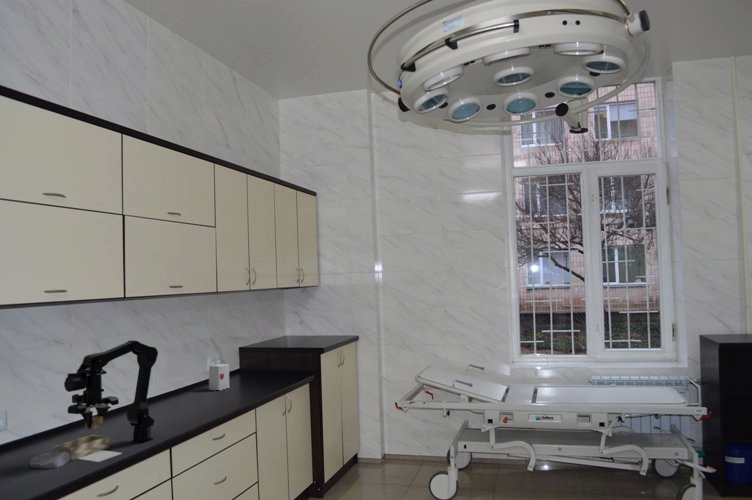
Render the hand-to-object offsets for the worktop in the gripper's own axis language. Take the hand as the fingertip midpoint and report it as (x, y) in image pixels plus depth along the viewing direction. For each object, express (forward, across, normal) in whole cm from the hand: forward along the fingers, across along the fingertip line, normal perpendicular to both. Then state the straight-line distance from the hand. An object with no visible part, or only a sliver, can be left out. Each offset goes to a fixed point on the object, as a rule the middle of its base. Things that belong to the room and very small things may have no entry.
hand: (94, 427), depth 224 cm
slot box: (+11, 0, -8) cm, 14 cm away
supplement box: (+11, -122, -48) cm, 132 cm away
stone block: (+12, +14, -6) cm, 19 cm away
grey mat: (+11, 0, +3) cm, 11 cm away
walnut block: (0, 0, 0) cm, 0 cm away
